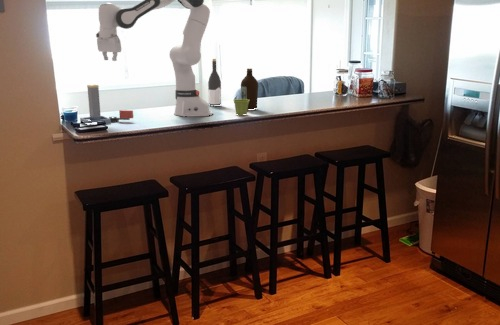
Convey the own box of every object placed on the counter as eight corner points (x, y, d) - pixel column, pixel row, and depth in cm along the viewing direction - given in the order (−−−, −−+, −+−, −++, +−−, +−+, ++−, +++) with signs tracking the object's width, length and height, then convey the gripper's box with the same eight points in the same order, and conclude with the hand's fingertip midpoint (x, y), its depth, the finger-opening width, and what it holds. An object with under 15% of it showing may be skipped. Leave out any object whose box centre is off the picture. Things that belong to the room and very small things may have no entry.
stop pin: (97, 120, 259) (94, 84, 254) (101, 121, 256) (98, 85, 252) (90, 121, 256) (87, 85, 252) (93, 122, 254) (90, 85, 249)
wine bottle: (214, 104, 325) (214, 58, 317) (223, 105, 320) (223, 58, 313) (206, 105, 319) (205, 58, 311) (215, 107, 314) (214, 59, 306)
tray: (103, 120, 265) (102, 115, 264) (110, 123, 255) (110, 118, 255) (80, 122, 258) (80, 117, 257) (87, 125, 248) (87, 121, 248)
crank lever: (107, 120, 259) (107, 110, 257) (110, 118, 263) (109, 109, 261) (132, 120, 258) (131, 111, 257) (134, 119, 262) (133, 110, 260)
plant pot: (252, 114, 285) (252, 99, 283) (244, 116, 277) (244, 101, 275) (238, 113, 289) (238, 98, 287) (230, 115, 282) (230, 100, 279)
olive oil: (252, 108, 311) (253, 67, 304) (261, 110, 302) (261, 69, 295) (237, 109, 306) (237, 68, 299) (245, 111, 297) (245, 69, 290)
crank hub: (120, 120, 264) (119, 118, 264) (117, 122, 258) (117, 120, 258) (108, 120, 264) (108, 118, 263) (105, 122, 258) (105, 120, 258)
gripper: (123, 34, 260) (125, 61, 264) (105, 34, 274) (106, 59, 278) (112, 34, 256) (114, 61, 259) (94, 34, 270) (96, 60, 274)
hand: (110, 60), depth 269 cm, fingers open, 8 cm apart
